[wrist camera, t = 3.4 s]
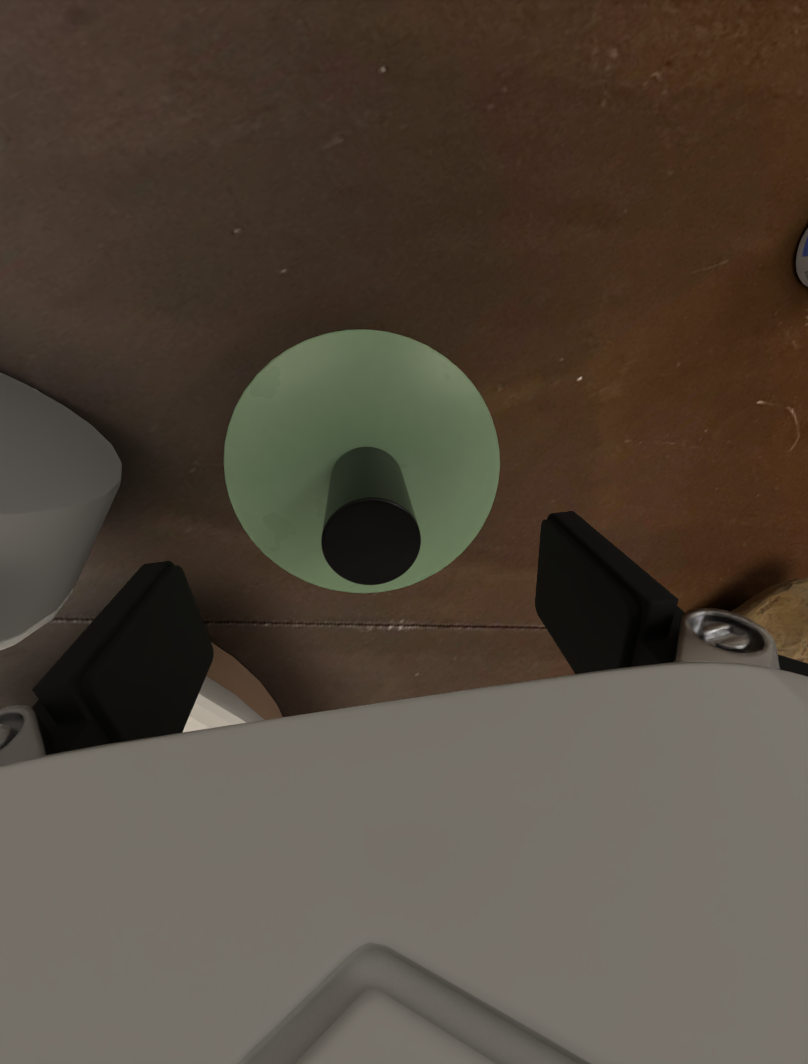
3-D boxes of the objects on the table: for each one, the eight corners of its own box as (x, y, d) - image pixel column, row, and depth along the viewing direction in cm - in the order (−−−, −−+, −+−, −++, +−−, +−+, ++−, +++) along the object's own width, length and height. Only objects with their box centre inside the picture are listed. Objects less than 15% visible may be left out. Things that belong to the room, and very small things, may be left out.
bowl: (382, 734, 39) (390, 862, 30) (165, 820, 42) (110, 963, 33) (235, 541, 29) (177, 649, 19) (-45, 673, 31) (-218, 825, 22)
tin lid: (266, 594, 20) (231, 703, 15) (193, 343, 15) (92, 357, 9) (490, 565, 21) (542, 658, 15) (495, 315, 16) (578, 311, 10)
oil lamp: (817, 557, 35) (933, 616, 28) (742, 683, 42) (821, 757, 35) (701, 558, 34) (792, 620, 27) (643, 688, 41) (704, 766, 33)
